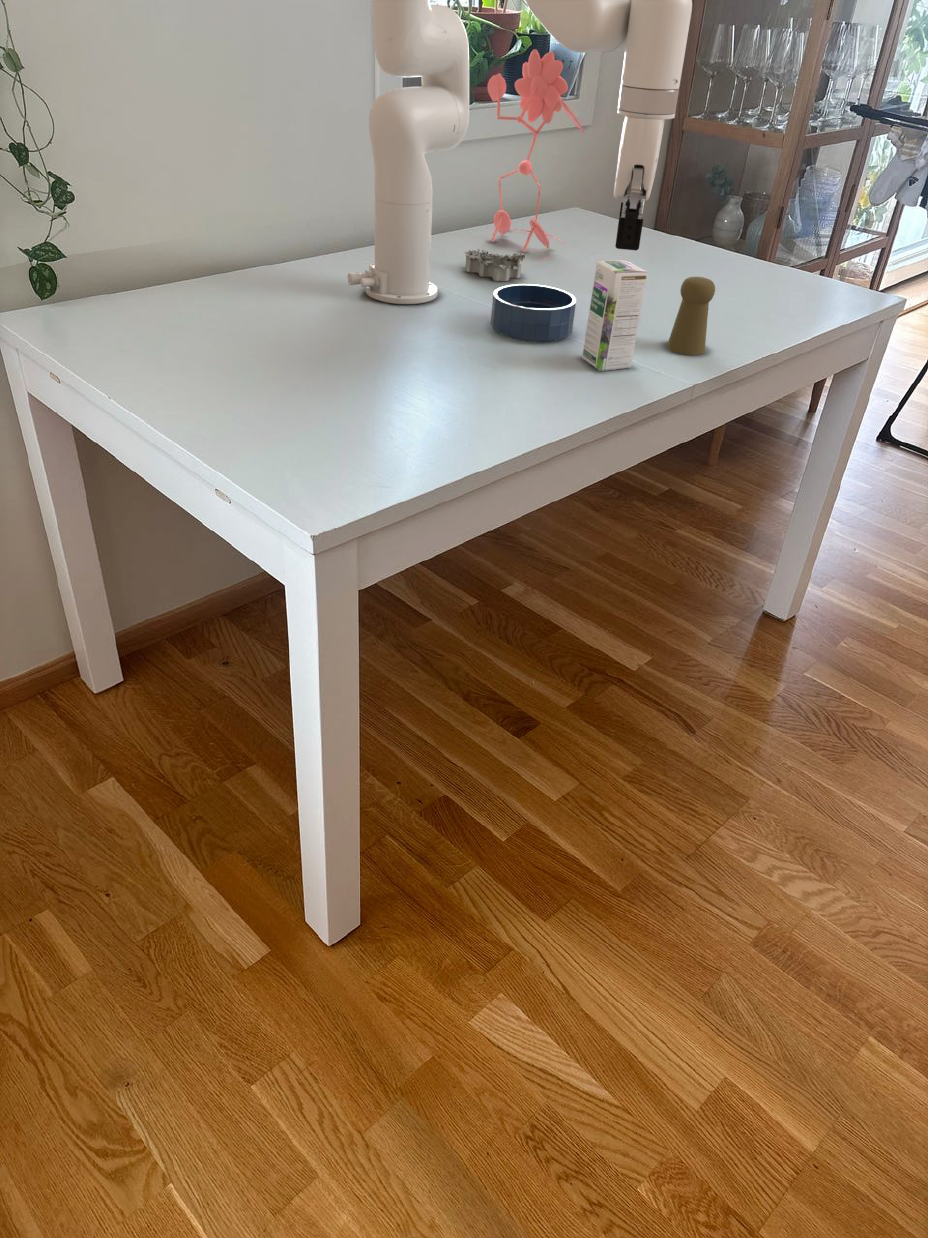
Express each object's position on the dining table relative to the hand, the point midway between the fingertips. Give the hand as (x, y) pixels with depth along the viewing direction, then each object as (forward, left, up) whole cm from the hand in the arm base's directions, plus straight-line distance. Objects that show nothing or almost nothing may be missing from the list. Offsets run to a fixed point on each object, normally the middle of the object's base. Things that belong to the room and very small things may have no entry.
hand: (627, 240), depth 132 cm
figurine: (+25, +65, -18) cm, 72 cm away
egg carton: (+6, +47, -18) cm, 51 cm away
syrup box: (0, 0, -18) cm, 18 cm away
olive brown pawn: (+16, +2, -18) cm, 25 cm away
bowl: (-4, +17, -18) cm, 25 cm away
